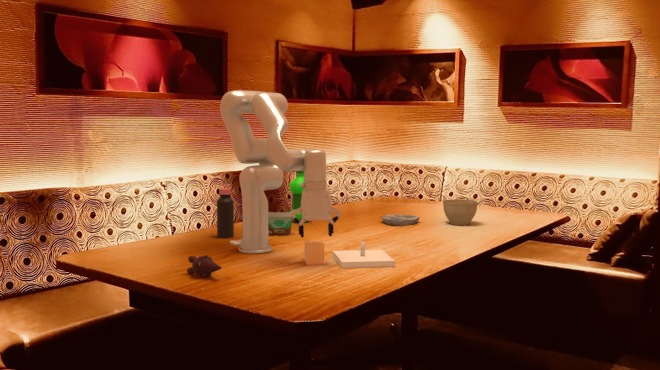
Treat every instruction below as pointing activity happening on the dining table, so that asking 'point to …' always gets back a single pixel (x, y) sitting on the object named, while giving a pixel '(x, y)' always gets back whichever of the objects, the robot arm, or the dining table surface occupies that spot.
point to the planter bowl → (460, 211)
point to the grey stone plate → (400, 219)
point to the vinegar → (225, 214)
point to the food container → (279, 223)
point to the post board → (363, 258)
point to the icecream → (202, 266)
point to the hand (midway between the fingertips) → (316, 236)
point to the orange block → (314, 252)
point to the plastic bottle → (297, 192)
